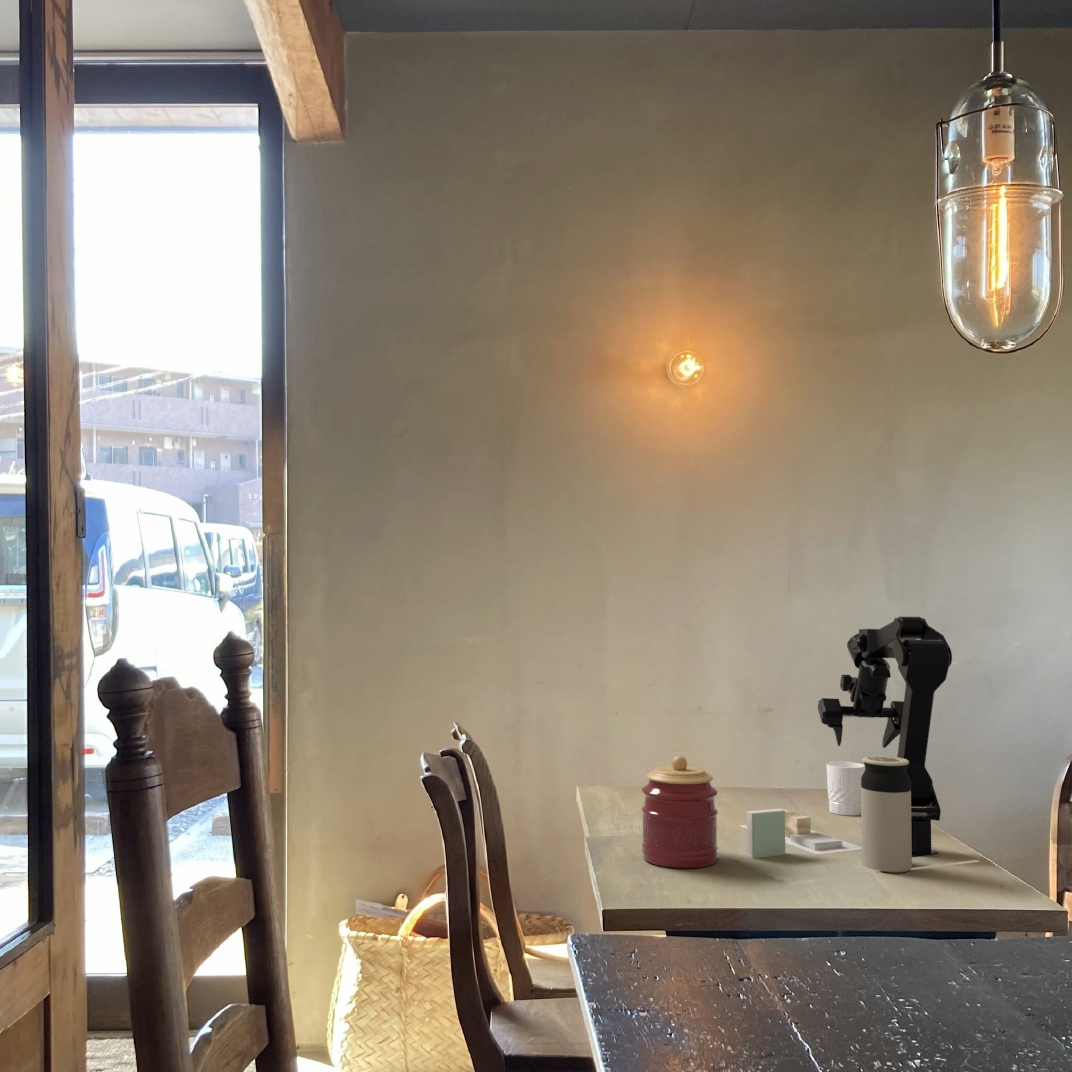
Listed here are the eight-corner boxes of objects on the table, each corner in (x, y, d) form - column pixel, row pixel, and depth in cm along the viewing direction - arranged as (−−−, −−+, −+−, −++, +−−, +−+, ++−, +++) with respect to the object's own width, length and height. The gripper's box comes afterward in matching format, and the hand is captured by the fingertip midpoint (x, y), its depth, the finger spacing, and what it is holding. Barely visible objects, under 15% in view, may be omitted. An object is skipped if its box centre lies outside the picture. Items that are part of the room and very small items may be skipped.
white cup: (861, 809, 220) (860, 762, 221) (869, 817, 212) (868, 768, 213) (823, 808, 221) (823, 761, 222) (830, 816, 213) (829, 767, 214)
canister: (721, 853, 181) (721, 752, 182) (713, 872, 169) (713, 763, 170) (648, 848, 185) (648, 748, 186) (635, 866, 172) (635, 759, 173)
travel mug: (879, 875, 168) (878, 763, 169) (852, 863, 176) (851, 756, 177) (922, 872, 170) (920, 762, 171) (893, 860, 178) (891, 754, 179)
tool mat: (867, 851, 184) (867, 848, 184) (817, 856, 180) (817, 854, 180) (784, 823, 206) (784, 821, 206) (738, 827, 202) (738, 825, 202)
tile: (786, 856, 179) (785, 810, 180) (752, 860, 177) (752, 813, 177) (780, 854, 181) (779, 808, 182) (746, 858, 178) (746, 811, 179)
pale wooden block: (842, 847, 185) (841, 824, 185) (814, 850, 182) (814, 827, 183) (790, 829, 199) (790, 808, 199) (764, 832, 196) (764, 810, 196)
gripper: (909, 663, 213) (897, 723, 221) (817, 659, 215) (809, 719, 222) (923, 694, 204) (910, 757, 211) (827, 691, 205) (817, 753, 212)
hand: (861, 745), depth 214 cm, fingers open, 9 cm apart
